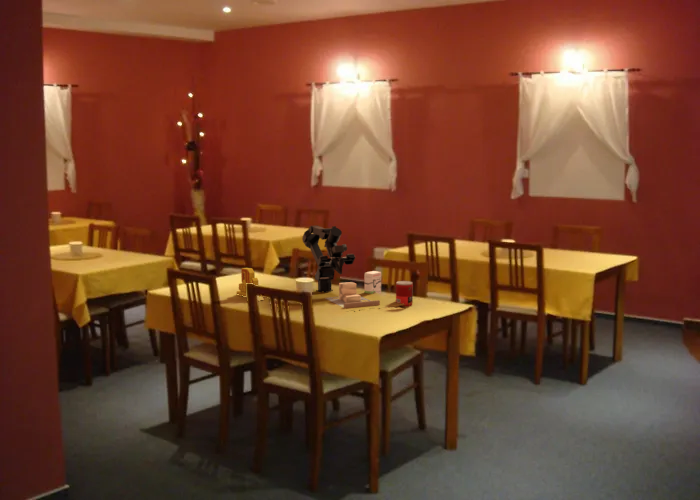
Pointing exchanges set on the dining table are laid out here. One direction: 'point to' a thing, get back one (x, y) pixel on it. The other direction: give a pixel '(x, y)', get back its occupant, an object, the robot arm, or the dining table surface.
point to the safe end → (360, 304)
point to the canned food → (404, 292)
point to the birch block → (348, 292)
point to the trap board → (340, 302)
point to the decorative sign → (246, 280)
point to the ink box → (372, 282)
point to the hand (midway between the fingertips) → (341, 273)
